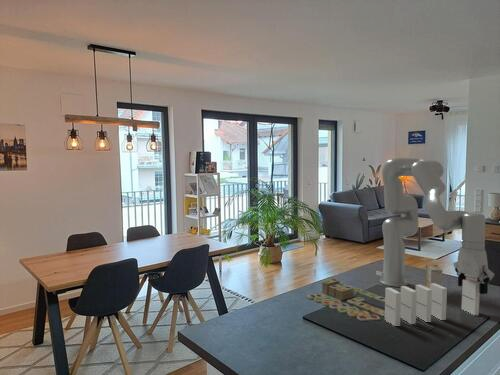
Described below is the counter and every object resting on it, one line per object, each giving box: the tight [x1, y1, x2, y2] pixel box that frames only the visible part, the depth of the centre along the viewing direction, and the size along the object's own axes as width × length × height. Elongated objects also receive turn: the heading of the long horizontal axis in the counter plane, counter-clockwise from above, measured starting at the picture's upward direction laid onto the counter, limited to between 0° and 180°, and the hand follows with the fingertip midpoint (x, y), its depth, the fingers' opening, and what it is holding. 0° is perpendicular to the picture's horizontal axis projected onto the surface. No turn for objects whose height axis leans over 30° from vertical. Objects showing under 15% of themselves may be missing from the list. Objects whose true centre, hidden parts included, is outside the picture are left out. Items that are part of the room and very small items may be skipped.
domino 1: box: [384, 287, 401, 327], centre depth 132 cm, size 2×6×12 cm, turn 15°
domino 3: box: [415, 284, 432, 323], centre depth 135 cm, size 2×6×12 cm, turn 15°
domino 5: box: [460, 278, 481, 316], centre depth 142 cm, size 2×6×12 cm, turn 16°
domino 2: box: [400, 286, 417, 325], centre depth 134 cm, size 2×6×12 cm, turn 15°
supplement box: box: [424, 264, 443, 289], centre depth 159 cm, size 8×5×13 cm, turn 168°
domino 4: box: [430, 283, 448, 321], centre depth 137 cm, size 2×6×12 cm, turn 15°
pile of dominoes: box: [305, 277, 385, 322], centre depth 152 cm, size 35×27×6 cm
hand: (472, 289), depth 141 cm, fingers open, 9 cm apart
